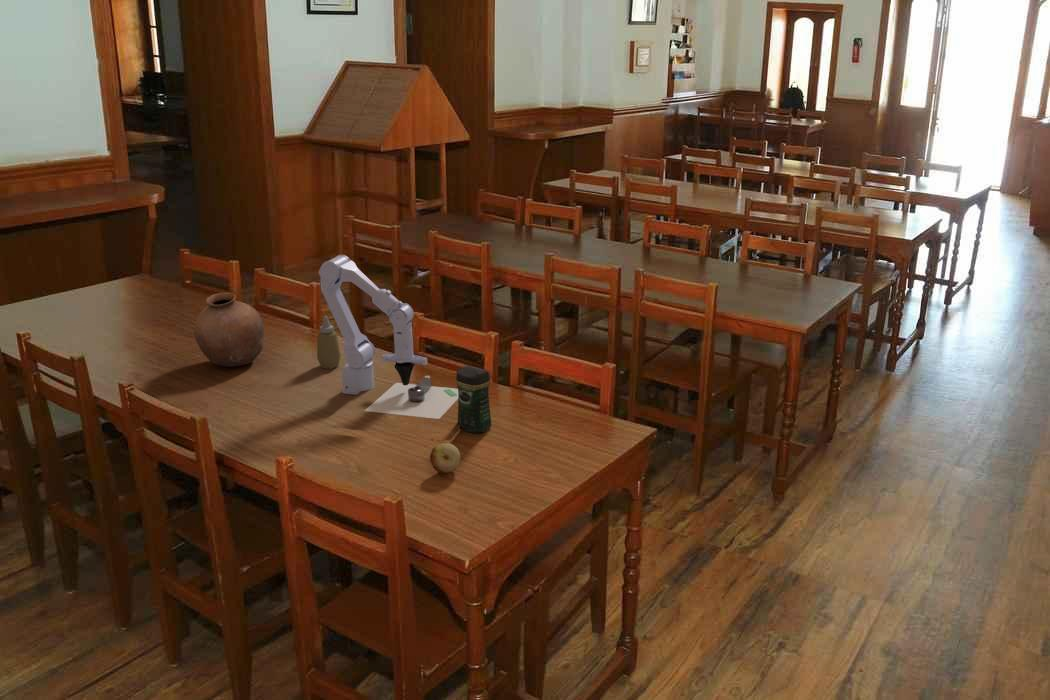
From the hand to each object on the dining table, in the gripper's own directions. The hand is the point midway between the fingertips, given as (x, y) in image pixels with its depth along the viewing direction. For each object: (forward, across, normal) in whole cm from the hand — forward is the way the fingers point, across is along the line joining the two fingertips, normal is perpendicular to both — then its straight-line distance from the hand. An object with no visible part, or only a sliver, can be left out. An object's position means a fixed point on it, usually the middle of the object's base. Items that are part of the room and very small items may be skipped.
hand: (406, 384), depth 300 cm
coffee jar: (+4, +29, -18) cm, 34 cm away
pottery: (+4, -70, +12) cm, 71 cm away
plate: (+4, +6, -6) cm, 9 cm away
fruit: (+4, +31, -47) cm, 56 cm away
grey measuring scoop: (+2, +6, -2) cm, 7 cm away
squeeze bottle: (+4, -36, +18) cm, 41 cm away
